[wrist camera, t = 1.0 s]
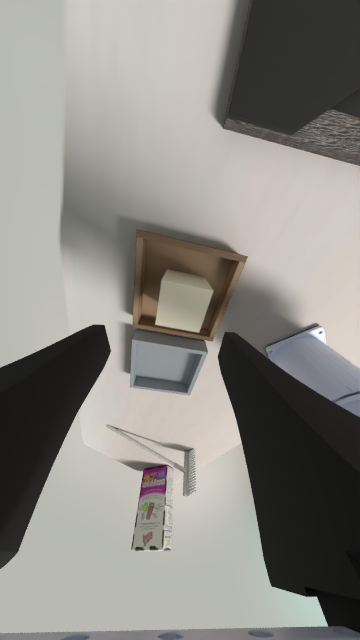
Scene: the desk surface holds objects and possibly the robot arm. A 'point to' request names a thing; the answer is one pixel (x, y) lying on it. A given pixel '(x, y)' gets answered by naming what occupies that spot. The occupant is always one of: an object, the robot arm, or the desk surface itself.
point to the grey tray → (165, 362)
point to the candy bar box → (154, 511)
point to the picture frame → (300, 76)
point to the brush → (172, 463)
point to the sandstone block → (183, 301)
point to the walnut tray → (186, 258)
